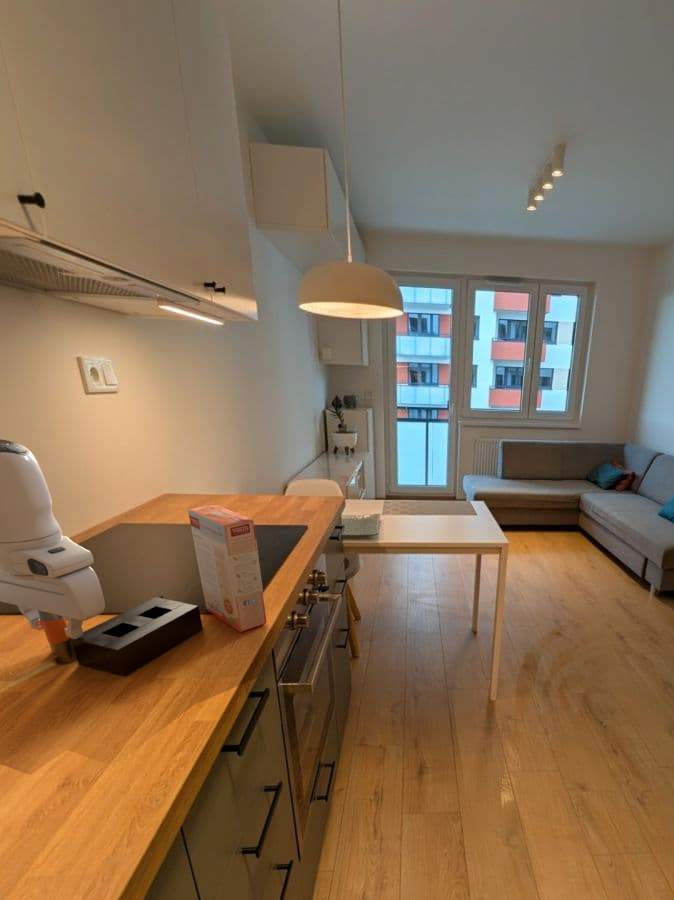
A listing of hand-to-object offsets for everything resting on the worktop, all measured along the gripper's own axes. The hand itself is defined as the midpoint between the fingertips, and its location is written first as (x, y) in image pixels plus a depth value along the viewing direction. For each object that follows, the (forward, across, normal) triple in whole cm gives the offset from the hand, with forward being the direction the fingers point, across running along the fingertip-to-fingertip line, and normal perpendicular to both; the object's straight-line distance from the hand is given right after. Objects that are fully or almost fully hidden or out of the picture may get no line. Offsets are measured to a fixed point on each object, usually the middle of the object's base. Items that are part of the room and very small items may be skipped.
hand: (57, 632), depth 82 cm
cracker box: (+5, +15, +23) cm, 28 cm away
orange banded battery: (+5, 0, 0) cm, 5 cm away
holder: (+5, +8, +8) cm, 12 cm away
